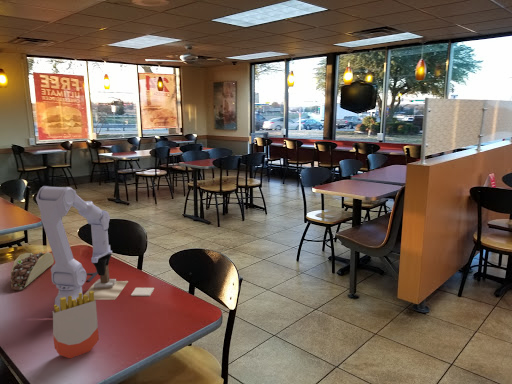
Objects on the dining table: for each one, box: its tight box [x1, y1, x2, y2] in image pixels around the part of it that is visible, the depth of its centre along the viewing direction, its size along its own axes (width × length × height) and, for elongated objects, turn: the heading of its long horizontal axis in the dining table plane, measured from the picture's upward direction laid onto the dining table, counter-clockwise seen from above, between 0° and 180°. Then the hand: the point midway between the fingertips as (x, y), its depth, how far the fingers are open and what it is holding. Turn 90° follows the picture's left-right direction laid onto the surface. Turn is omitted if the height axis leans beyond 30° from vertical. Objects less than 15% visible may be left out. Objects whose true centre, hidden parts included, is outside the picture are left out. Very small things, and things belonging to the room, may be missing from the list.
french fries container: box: [52, 291, 100, 359], centre depth 112 cm, size 5×11×18 cm, turn 132°
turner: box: [93, 264, 117, 288], centre depth 155 cm, size 5×7×8 cm
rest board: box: [83, 280, 129, 301], centre depth 152 cm, size 16×13×1 cm
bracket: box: [85, 269, 98, 283], centre depth 166 cm, size 14×15×3 cm
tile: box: [130, 287, 155, 297], centre depth 150 cm, size 2×7×6 cm
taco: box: [10, 251, 55, 291], centre depth 164 cm, size 10×27×10 cm, turn 3°
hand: (102, 273), depth 155 cm, fingers closed on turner, 2 cm apart
